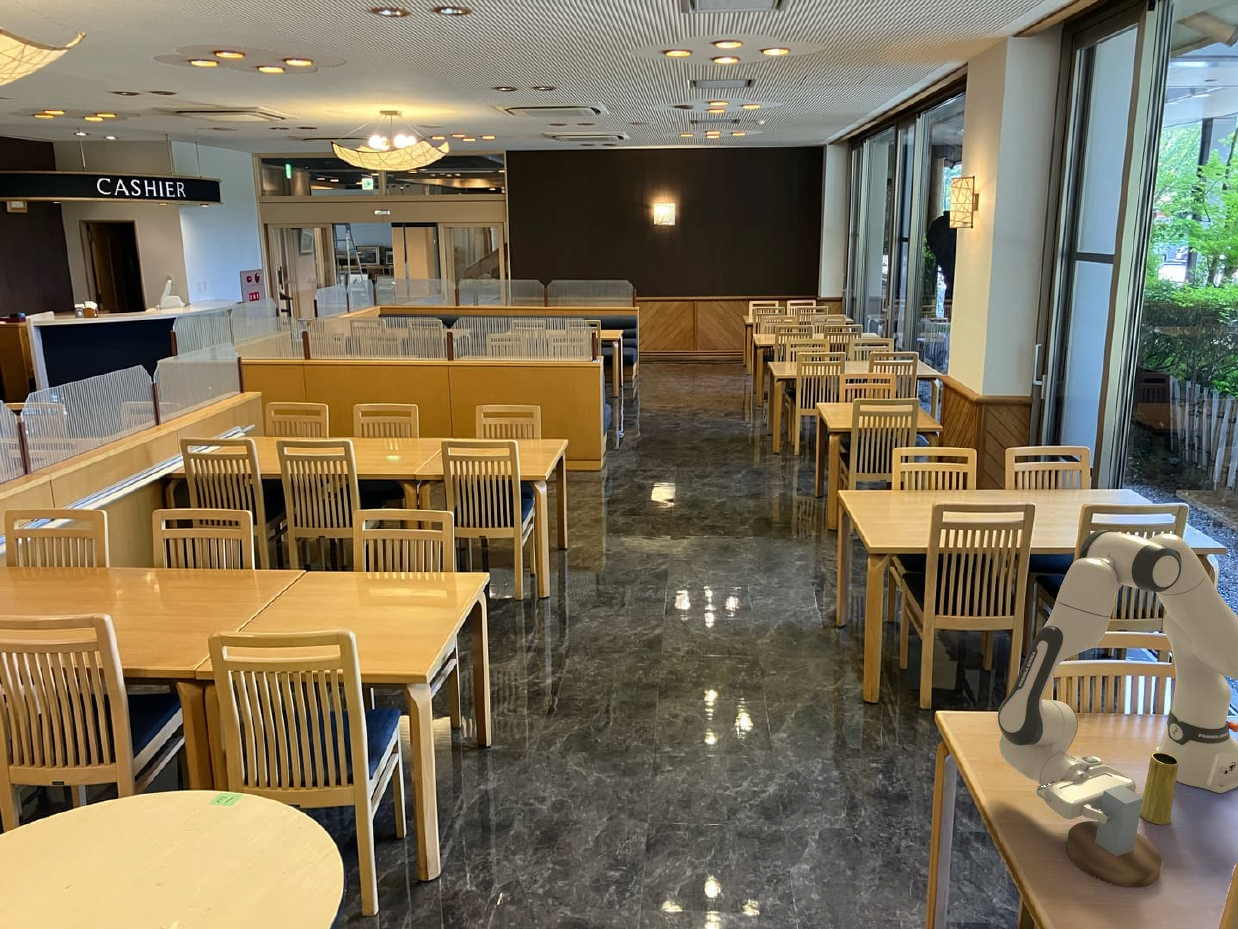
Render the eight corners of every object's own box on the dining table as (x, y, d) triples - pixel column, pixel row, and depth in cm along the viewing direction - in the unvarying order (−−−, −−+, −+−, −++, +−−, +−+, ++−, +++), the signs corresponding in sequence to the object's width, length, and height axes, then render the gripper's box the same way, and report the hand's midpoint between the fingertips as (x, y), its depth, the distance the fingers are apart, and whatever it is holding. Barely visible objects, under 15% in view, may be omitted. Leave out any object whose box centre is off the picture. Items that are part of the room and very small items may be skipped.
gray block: (1112, 836, 201) (1121, 784, 198) (1133, 850, 197) (1143, 798, 194) (1095, 842, 199) (1103, 790, 196) (1116, 857, 195) (1125, 804, 191)
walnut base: (1115, 828, 209) (1117, 816, 208) (1179, 879, 193) (1181, 866, 192) (1048, 840, 204) (1050, 827, 203) (1107, 893, 188) (1110, 880, 188)
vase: (1158, 828, 209) (1169, 769, 205) (1132, 812, 214) (1142, 754, 211) (1176, 820, 212) (1187, 762, 208) (1150, 805, 217) (1160, 748, 213)
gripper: (1033, 776, 202) (1089, 813, 190) (1101, 755, 210) (1160, 788, 198) (1029, 803, 203) (1085, 841, 191) (1097, 780, 212) (1155, 816, 200)
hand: (1124, 814), depth 195 cm, fingers open, 8 cm apart
